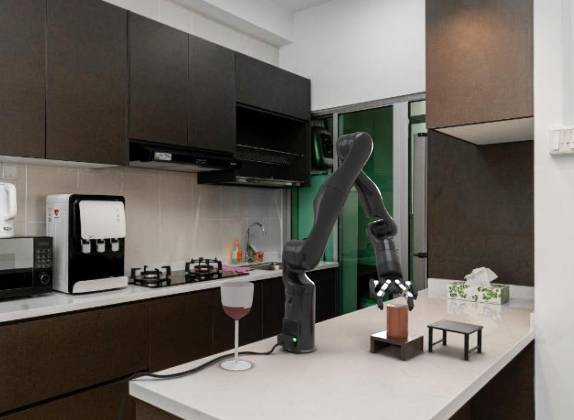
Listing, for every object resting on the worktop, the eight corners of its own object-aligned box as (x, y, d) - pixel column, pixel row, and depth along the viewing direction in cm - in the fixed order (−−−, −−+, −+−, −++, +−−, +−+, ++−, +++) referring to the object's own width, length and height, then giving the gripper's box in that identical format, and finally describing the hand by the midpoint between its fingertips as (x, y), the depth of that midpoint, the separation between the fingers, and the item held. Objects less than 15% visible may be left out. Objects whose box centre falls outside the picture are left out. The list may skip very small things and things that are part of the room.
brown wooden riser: (404, 360, 134) (405, 343, 134) (370, 352, 142) (370, 335, 142) (423, 352, 143) (423, 335, 143) (389, 344, 151) (389, 328, 151)
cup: (402, 339, 138) (402, 308, 138) (382, 335, 143) (382, 305, 142) (411, 335, 142) (412, 305, 142) (392, 331, 147) (392, 302, 147)
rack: (468, 361, 135) (468, 333, 135) (426, 351, 143) (427, 325, 143) (483, 352, 143) (483, 326, 143) (442, 344, 152) (443, 319, 152)
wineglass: (257, 362, 131) (259, 283, 131) (243, 373, 122) (244, 288, 122) (229, 357, 135) (230, 280, 135) (213, 368, 126) (214, 285, 126)
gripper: (367, 259, 153) (374, 301, 142) (413, 260, 152) (423, 303, 140) (364, 273, 158) (370, 315, 147) (408, 274, 157) (418, 316, 146)
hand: (396, 309), depth 144 cm, fingers open, 8 cm apart
